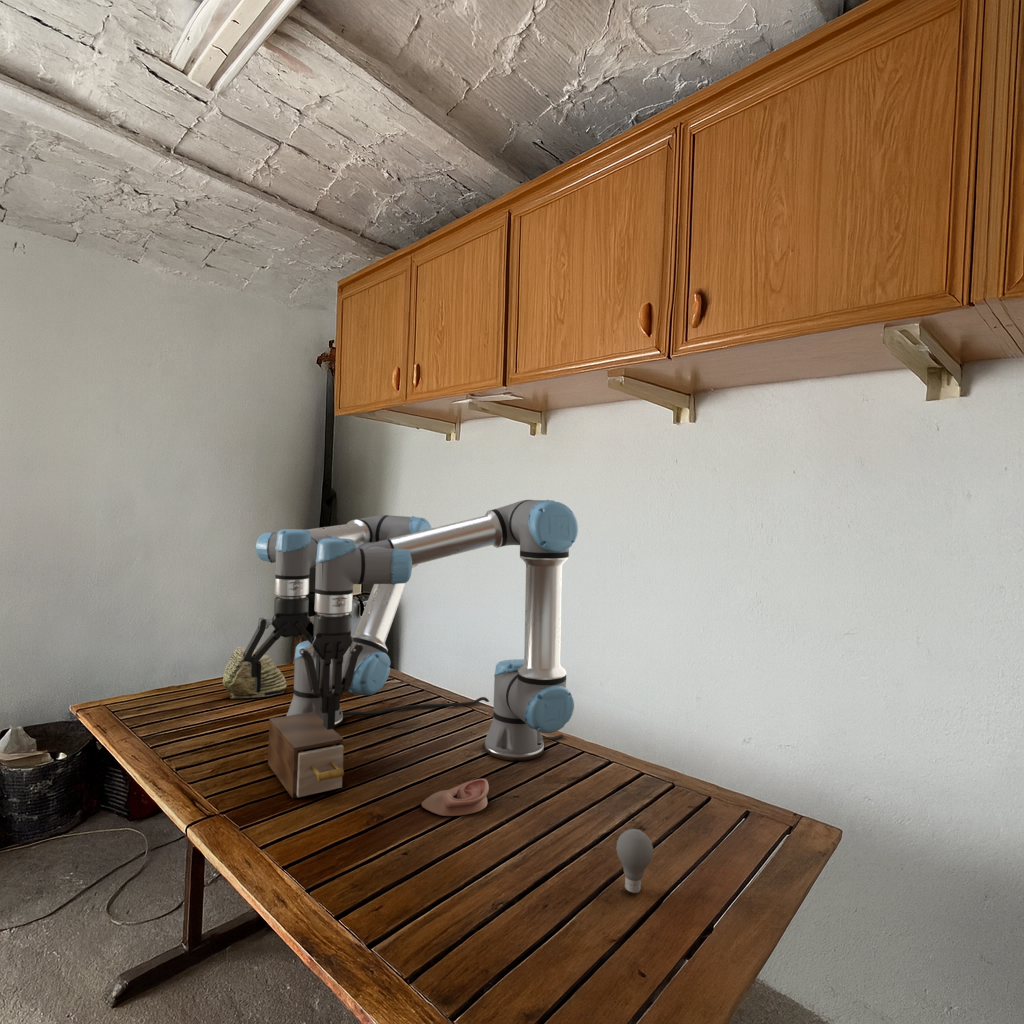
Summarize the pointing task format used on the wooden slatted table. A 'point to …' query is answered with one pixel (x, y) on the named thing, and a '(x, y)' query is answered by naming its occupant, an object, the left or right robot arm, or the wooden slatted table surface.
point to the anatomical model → (459, 799)
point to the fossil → (242, 681)
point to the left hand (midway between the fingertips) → (288, 687)
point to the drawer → (319, 769)
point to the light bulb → (634, 857)
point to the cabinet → (295, 744)
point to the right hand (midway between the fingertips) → (328, 726)
